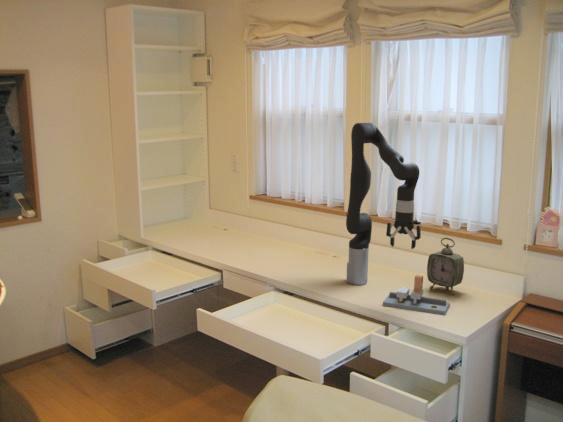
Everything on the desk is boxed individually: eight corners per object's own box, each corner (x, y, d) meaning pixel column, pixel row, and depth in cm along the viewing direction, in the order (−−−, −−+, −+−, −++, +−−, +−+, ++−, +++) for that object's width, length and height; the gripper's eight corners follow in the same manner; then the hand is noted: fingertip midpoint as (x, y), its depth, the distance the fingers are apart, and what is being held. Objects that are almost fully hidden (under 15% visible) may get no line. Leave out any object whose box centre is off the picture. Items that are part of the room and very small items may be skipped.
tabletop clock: (425, 289, 286) (428, 236, 281) (436, 285, 292) (439, 233, 287) (453, 297, 276) (457, 242, 271) (464, 292, 282) (468, 239, 277)
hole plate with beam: (382, 305, 264) (383, 292, 263) (389, 296, 275) (390, 284, 274) (444, 314, 254) (445, 301, 253) (449, 305, 265) (450, 292, 264)
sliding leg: (409, 302, 262) (411, 279, 260) (413, 297, 268) (415, 274, 266) (419, 304, 260) (420, 280, 258) (423, 298, 267) (424, 275, 265)
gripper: (386, 210, 261) (384, 247, 265) (419, 213, 256) (417, 251, 259) (390, 207, 268) (388, 243, 271) (423, 210, 263) (421, 247, 266)
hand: (402, 247), depth 265 cm, fingers open, 8 cm apart
